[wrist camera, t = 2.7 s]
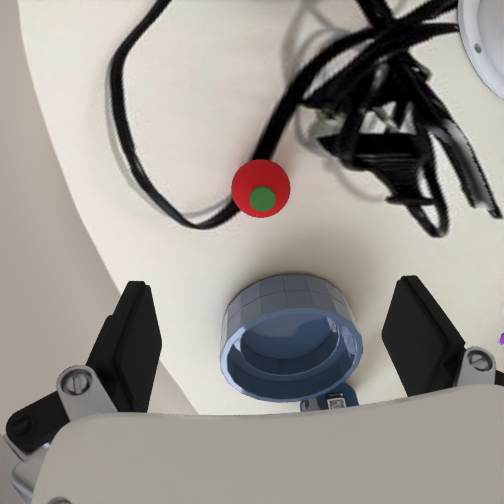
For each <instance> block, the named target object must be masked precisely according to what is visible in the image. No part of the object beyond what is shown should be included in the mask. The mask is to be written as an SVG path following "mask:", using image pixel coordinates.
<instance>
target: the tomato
mask: <svg viewBox="0 0 504 504" xmlns="http://www.w3.org/2000/svg"><path fill="white" fill-rule="evenodd" d="M231 190H232V197H233V199H234V201H235V203H236V205H237V206H238V208H239V209H240V210H242V211H243V212H244V213H246V214H247V215H250V216H252V217H257V218H265V217H269V216H272V215H275V214H276V213H278V212H279V211H280V210H281V209H282V208H283V207H284V206H285V205H286V203H287V201H288V199H289V195H290V182H289V178H288V176H287V174H286V173H285V171H284V170H283V169H282V168H281V167H280V166H279V165H277V164H276V163H274V162H272V161H269V160H263V159H258V160H253V161H250V162H248V163H246V164H244V165H243V166H242V167H240V168H239V170H238V171H237V172H236V174H235V176H234V178H233V181H232V186H231Z"/></svg>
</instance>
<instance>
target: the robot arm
mask: <svg viewBox="0 0 504 504" xmlns="http://www.w3.org/2000/svg"><path fill="white" fill-rule="evenodd" d="M457 10H458V23H459V28H460V34H461V37H462V40H463V44H464V47H465V49H466V52H467V54H468V56H469V59H470V61H471V63H472V64H473V66H474V68H475V70H476V72H477V73H478V75H479V76H480V77H481V79H482V80H483V82H484V83H485V84H486V85H487V86H488V87H489V88H490V89H491V90H492V91H493V92H494V93H495V94H497V95H498V96H499V97H501V98H503V99H504V0H458V8H457ZM382 340H383V342H384V345H385V347H386V349H387V351H388V353H389V355H390V357H391V360H392V362H393V364H394V366H395V368H396V371H397V373H398V375H399V377H400V380H401V382H402V384H403V386H404V389H405V391H406V393H407V396H408V397H406V398H401V399H396V400H390V401H385V402H379V403H373V404H366V405H360V406H352V407H345V408H337V409H329V410H319V411H309V412H297V413H282V414H263V415H182V414H161V413H160V414H159V413H147V410H148V405H149V401H150V396H151V391H152V387H153V382H154V378H155V374H156V369H157V365H158V361H159V356H160V352H161V348H162V339H161V334H160V330H159V326H158V321H157V317H156V312H155V307H154V303H153V298H152V293H151V288H150V286H149V285H146V284H145V282H144V281H129V282H128V283H127V285H126V288H125V290H124V292H123V294H122V296H121V298H120V300H119V302H118V304H117V306H116V309H115V311H114V313H113V315H109V316H108V317H107V318H106V320H105V322H104V325H103V327H102V329H101V331H100V333H99V335H98V338H97V340H96V342H95V344H94V347H93V349H92V351H91V353H90V356H89V358H88V361H87V363H86V365H75V366H72V367H69V368H67V369H66V370H64V371H63V372H62V373H61V374H60V375H59V377H58V379H57V383H56V388H57V391H55V392H53V393H51V394H49V395H47V396H46V397H44V398H42V399H40V400H38V401H36V402H34V403H32V404H30V405H28V406H26V407H25V408H23V409H21V410H19V411H17V412H15V413H14V414H13V415H12V416H11V417H10V418H9V420H8V422H7V424H6V434H5V435H4V436H1V434H0V504H504V373H502V372H500V371H498V370H496V362H495V359H494V357H493V356H492V355H491V353H489V352H488V351H487V350H485V349H483V348H481V347H470V348H468V349H467V350H466V349H465V348H464V345H465V341H464V340H463V338H462V337H461V335H460V334H459V332H458V331H457V330H456V328H455V327H454V325H453V324H452V322H451V321H450V320H449V318H448V317H447V315H446V314H445V313H444V311H443V310H442V308H441V307H440V306H439V304H438V303H437V302H436V300H435V299H434V298H433V296H432V295H431V294H430V292H429V291H428V290H427V288H426V287H425V286H424V285H423V283H422V282H421V281H420V279H419V278H418V277H417V276H415V275H412V276H402V277H401V279H400V280H398V281H397V283H396V287H395V290H394V294H393V297H392V301H391V304H390V307H389V311H388V314H387V317H386V320H385V323H384V326H383V329H382Z"/></svg>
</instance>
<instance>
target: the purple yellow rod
mask: <svg viewBox="0 0 504 504" xmlns="http://www.w3.org/2000/svg"><path fill="white" fill-rule="evenodd" d="M500 343H501V345H502V344H504V334H503V335H502V336H501V341H500Z"/></svg>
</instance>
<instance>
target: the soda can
mask: <svg viewBox="0 0 504 504" xmlns="http://www.w3.org/2000/svg"><path fill="white" fill-rule="evenodd" d="M352 406H359V404H358V400H357V397H356V393H355V391H354V390H353V388H351V387H350V386H349V385H347V384H346V383H344V382H342V383H341V384H340V385H338V386H337V387H336V388H334V389H332V390H331V391H328V392H326V393H324V394H322V395H319V396H317V397H314V398H310V399H306V400H302V401H301V403H300V409H301V412H309V411H319V410H329V409H337V408H345V407H352Z"/></svg>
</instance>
